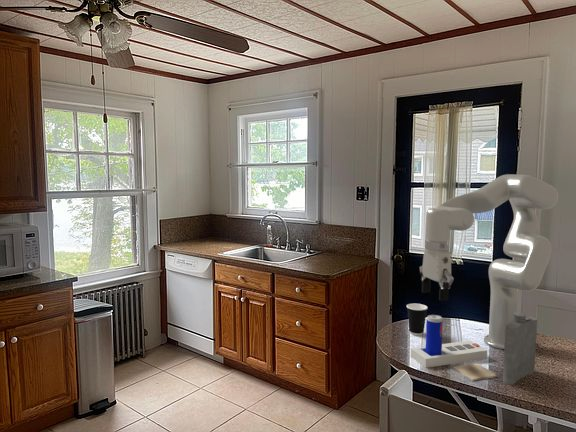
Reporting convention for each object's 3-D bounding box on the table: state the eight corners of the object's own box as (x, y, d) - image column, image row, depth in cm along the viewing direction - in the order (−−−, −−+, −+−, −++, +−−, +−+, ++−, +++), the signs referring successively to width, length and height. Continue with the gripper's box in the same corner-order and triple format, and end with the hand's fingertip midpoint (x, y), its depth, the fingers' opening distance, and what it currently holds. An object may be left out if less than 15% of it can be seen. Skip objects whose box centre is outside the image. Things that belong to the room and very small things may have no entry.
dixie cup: (403, 329, 178) (404, 303, 177) (423, 330, 178) (424, 303, 177) (408, 337, 170) (409, 309, 169) (429, 337, 170) (430, 309, 169)
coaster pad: (477, 364, 146) (477, 363, 146) (496, 377, 138) (497, 375, 137) (453, 368, 144) (453, 366, 144) (472, 380, 135) (472, 379, 135)
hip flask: (511, 386, 132) (514, 321, 130) (497, 381, 135) (500, 317, 133) (536, 371, 141) (539, 310, 139) (523, 367, 144) (526, 307, 142)
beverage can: (442, 363, 147) (443, 320, 146) (426, 362, 148) (427, 319, 147) (440, 357, 152) (441, 315, 151) (424, 356, 153) (425, 314, 152)
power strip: (469, 348, 159) (469, 339, 159) (486, 358, 151) (487, 348, 150) (410, 356, 153) (410, 346, 152) (425, 367, 144) (425, 357, 144)
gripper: (463, 249, 139) (461, 303, 140) (431, 241, 155) (429, 289, 157) (443, 250, 137) (440, 304, 138) (412, 242, 153) (410, 290, 155)
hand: (434, 296), depth 148 cm, fingers open, 9 cm apart
